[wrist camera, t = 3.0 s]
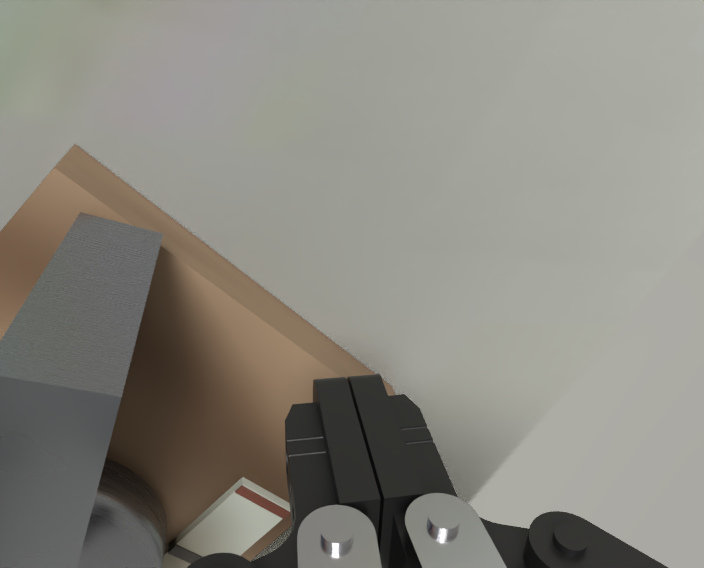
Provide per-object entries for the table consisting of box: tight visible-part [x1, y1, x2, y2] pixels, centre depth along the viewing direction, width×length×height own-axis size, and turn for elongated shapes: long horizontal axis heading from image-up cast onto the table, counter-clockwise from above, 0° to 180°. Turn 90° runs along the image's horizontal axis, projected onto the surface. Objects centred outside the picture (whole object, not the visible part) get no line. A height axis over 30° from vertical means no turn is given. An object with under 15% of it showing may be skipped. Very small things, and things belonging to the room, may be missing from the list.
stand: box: [0, 144, 395, 568], centre depth 19 cm, size 22×12×2 cm, turn 134°
